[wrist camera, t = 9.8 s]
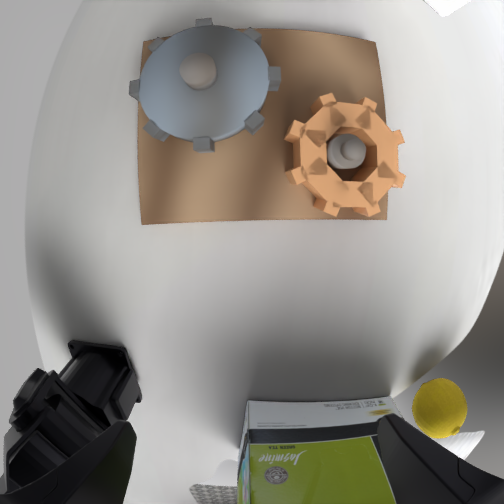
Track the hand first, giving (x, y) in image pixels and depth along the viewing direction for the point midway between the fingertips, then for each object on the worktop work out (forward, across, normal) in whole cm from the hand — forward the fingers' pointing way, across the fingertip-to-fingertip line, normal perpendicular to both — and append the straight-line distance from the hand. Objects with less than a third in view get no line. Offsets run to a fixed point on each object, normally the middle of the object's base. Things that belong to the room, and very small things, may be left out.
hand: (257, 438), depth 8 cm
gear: (+11, -6, -9) cm, 15 cm away
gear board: (+12, -1, -12) cm, 17 cm away
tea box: (+12, -6, +16) cm, 21 cm away
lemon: (+12, -18, +12) cm, 25 cm away
